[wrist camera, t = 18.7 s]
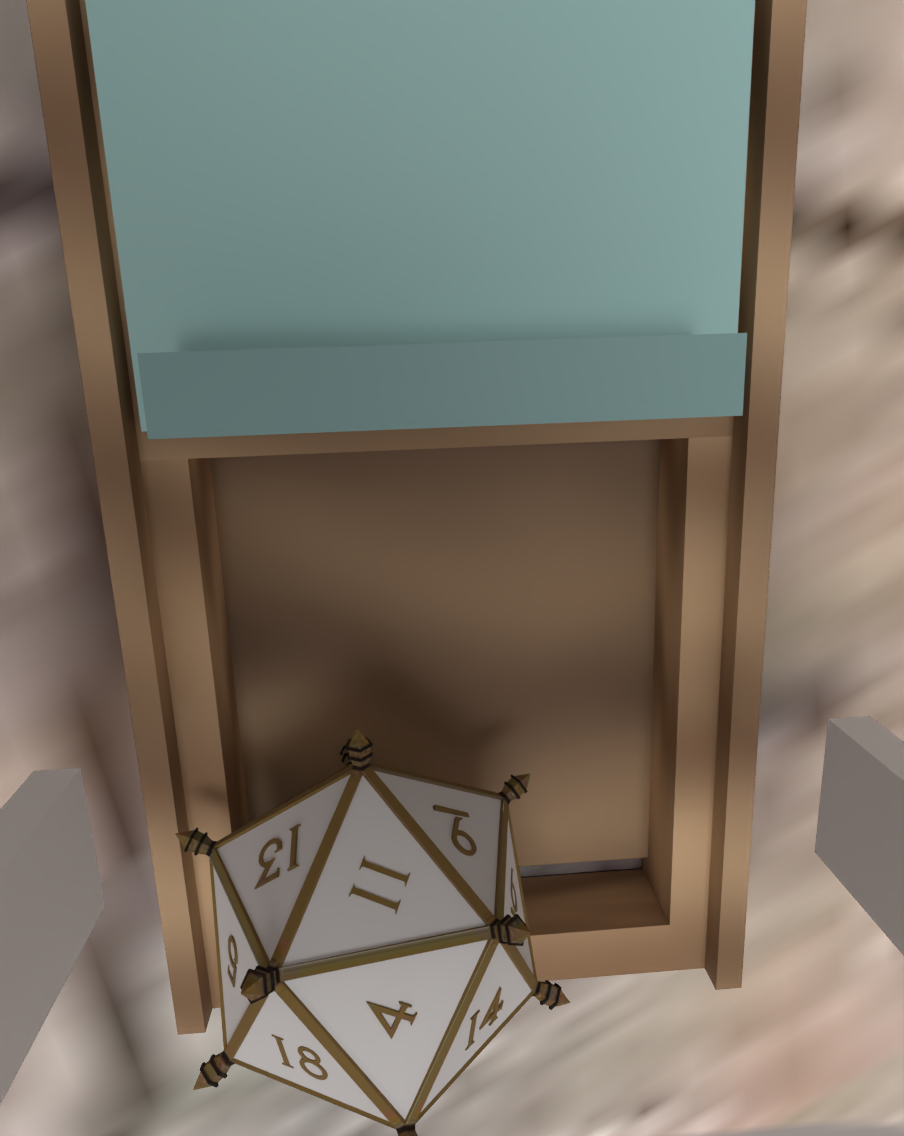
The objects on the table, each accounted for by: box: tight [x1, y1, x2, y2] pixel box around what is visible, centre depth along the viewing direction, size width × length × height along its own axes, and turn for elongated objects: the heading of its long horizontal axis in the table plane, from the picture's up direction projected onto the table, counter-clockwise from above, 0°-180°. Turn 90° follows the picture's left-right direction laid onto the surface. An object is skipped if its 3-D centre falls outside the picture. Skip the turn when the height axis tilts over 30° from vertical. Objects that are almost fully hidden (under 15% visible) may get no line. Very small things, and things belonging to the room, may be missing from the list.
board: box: [26, 0, 807, 1035], centre depth 19 cm, size 30×15×3 cm, turn 2°
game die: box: [175, 728, 570, 1136], centre depth 18 cm, size 9×8×10 cm
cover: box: [85, 0, 755, 439], centre depth 14 cm, size 14×13×3 cm
